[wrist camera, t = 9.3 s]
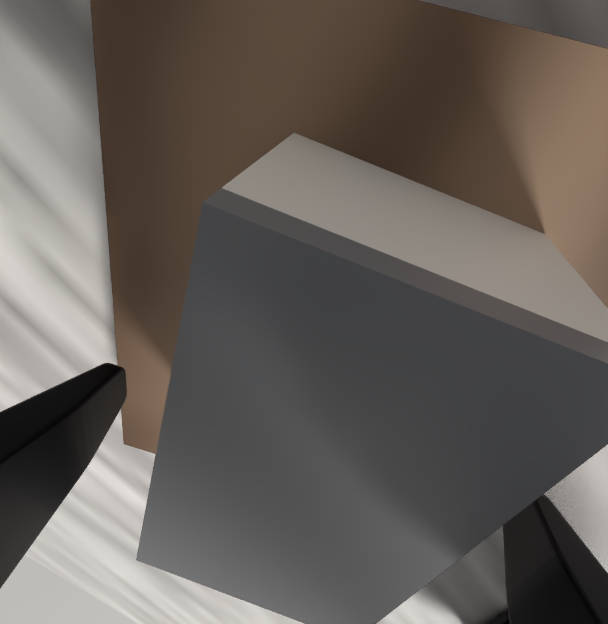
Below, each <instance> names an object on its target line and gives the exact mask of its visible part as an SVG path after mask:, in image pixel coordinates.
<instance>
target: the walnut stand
mask: <svg viewBox="0 0 608 624" xmlns="http://www.w3.org/2000/svg"><path fill="white" fill-rule="evenodd" d="M90 1H91V14H92V28H93V41H94V54H95V68H96V81H97V94H98V108H99V121H100V134H101V147H102V161H103V174H104V187H105V201H106V214H107V227H108V241H109V254H110V267H111V281H112V294H113V307H114V320H115V334H116V347H117V360H118V366H121V367H123V368H124V369H125V371H126V384H127V396H126V399H125V402H124V404H123V406H122V407H121V414H122V427H123V440H124V444H126V445H129V446H132V447H135V448H138V449H142V450H145V451H148V452H151V453H154V454H156V451H157V445H158V440H159V434H160V429H161V424H162V418H163V413H164V408H165V402H166V397H167V391H168V386H169V381H170V375H171V370H172V364H173V359H174V354H175V348H176V343H177V337H178V332H179V327H180V321H181V316H182V310H183V305H184V300H185V294H186V289H187V284H188V278H189V273H190V267H191V262H192V257H193V251H194V246H195V240H196V235H197V230H198V224H199V219H200V213H201V208H202V203H203V202H204V201H205V200H206V199H207V198H209V197H210V196H211V195H213V194H214V193H215V192H217V191H218V190H219V189H221V188H222V187H223V186H225V185H226V184H227V183H229V182H230V181H231V180H232V179H234V178H235V177H236V176H238V175H239V174H240V173H242V172H243V171H244V170H246V169H247V168H248V167H250V166H251V165H252V164H254V163H255V162H256V161H257V160H259V159H260V158H261V157H263V156H264V155H265V154H267V153H268V152H269V151H271V150H272V149H273V148H275V147H276V146H277V145H279V144H280V143H281V142H282V141H284V140H285V139H286V138H288V137H289V136H290V135H292V134H293V133H296V134H299V135H301V136H303V137H306V138H308V139H311V140H313V141H316V142H318V143H321V144H323V145H326V146H328V147H331V148H333V149H336V150H338V151H341V152H343V153H346V154H348V155H350V156H353V157H355V158H358V159H360V160H363V161H365V162H368V163H370V164H373V165H375V166H378V167H380V168H383V169H385V170H388V171H390V172H392V173H395V174H397V175H400V176H402V177H405V178H407V179H410V180H412V181H415V182H417V183H420V184H422V185H425V186H427V187H430V188H432V189H435V190H437V191H439V192H442V193H444V194H447V195H449V196H452V197H454V198H457V199H459V200H462V201H464V202H467V203H469V204H472V205H474V206H477V207H479V208H481V209H484V210H486V211H489V212H491V213H494V214H496V215H499V216H501V217H504V218H506V219H509V220H511V221H514V222H516V223H519V224H521V225H524V226H526V227H528V228H531V229H533V230H536V231H538V232H541V233H543V234H546V236H547V237H548V238H549V239H550V240H551V242H552V243H553V244H554V245H555V246H556V248H557V249H558V250H559V251H560V252H561V253H562V255H563V256H564V257H565V258H566V259H567V261H568V262H569V263H570V264H571V265H572V267H573V268H574V269H575V270H576V271H577V273H578V274H579V275H580V276H581V277H582V279H583V280H584V281H585V282H586V283H587V285H588V286H589V287H590V288H591V289H592V291H593V292H594V293H595V294H596V295H597V297H598V298H599V299H600V300H601V301H602V303H603V304H604V305H605V306H606V307H607V309H608V49H607V48H603V47H599V46H595V45H591V44H587V43H583V42H579V41H575V40H571V39H567V38H563V37H560V36H556V35H552V34H548V33H544V32H540V31H536V30H532V29H528V28H524V27H520V26H516V25H512V24H508V23H505V22H501V21H497V20H493V19H489V18H485V17H481V16H477V15H473V14H469V13H465V12H461V11H457V10H453V9H450V8H446V7H442V6H438V5H434V4H430V3H426V2H422V1H418V0H90Z"/></svg>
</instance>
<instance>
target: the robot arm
mask: <svg viewBox="0 0 608 624" xmlns="http://www.w3.org/2000/svg"><path fill="white" fill-rule="evenodd" d="M126 396H127V384H126V371H125V369H124V368H123V367H121V366H117V365H114V364H111V363H105V364H102V365H100V366H97V367H95V368H93V369H91V370H89V371H87V372H85V373H82V374H80V375H78V376H76V377H74V378H72V379H70V380H67V381H65V382H63V383H61V384H59V385H57V386H55V387H53V388H50V389H48V390H46V391H44V392H42V393H40V394H38V395H35V396H33V397H31V398H29V399H27V400H25V401H23V402H21V403H18V404H16V405H14V406H12V407H10V408H8V409H6V410H3V411H1V412H0V588H1V587H2V585H3V584H4V583H5V581H6V580H7V578H8V577H9V576H10V574H11V573H12V571H13V570H14V569H15V567H16V566H17V564H18V563H19V562H20V560H21V559H22V557H23V556H24V555H25V553H26V552H27V551H28V549H29V548H30V546H31V545H32V544H33V542H34V541H35V539H36V538H37V537H38V535H39V534H40V532H41V531H42V530H43V528H44V527H45V525H46V524H47V523H48V521H49V520H50V518H51V517H52V516H53V514H54V513H55V511H56V510H57V509H58V507H59V506H60V504H61V503H62V502H63V500H64V499H65V497H66V496H67V495H68V493H69V492H70V490H71V489H72V488H73V486H74V485H75V483H76V482H77V481H78V479H79V478H80V476H81V475H82V474H83V472H84V471H85V469H86V468H87V466H88V465H89V463H90V462H91V460H92V458H93V457H94V455H95V453H96V451H97V450H98V448H99V446H100V444H101V443H102V441H103V439H104V437H105V436H106V434H107V432H108V430H109V428H110V427H111V425H112V423H113V421H114V420H115V418H116V416H117V414H118V413H119V411H120V409H121V407H122V406H123V404H124V402H125V399H126ZM503 533H504V559H505V583H506V596H507V604H508V611H506V612H504V613H503V614H502V615H500V616H499V617H498V618H497V619H495V620H494V621H493V622H491V623H490V624H608V573H607V572H606V571H605V569H604V568H603V567H602V565H601V564H600V563H599V562H598V560H597V559H596V558H595V556H594V555H593V554H592V553H591V551H590V550H589V549H588V548H587V546H586V545H585V544H584V542H583V541H582V540H581V539H580V537H579V536H578V535H577V534H576V532H575V531H574V530H573V528H572V527H571V526H570V525H569V523H568V522H567V521H566V520H565V518H564V517H563V516H562V514H561V513H560V512H559V511H558V509H557V508H556V507H555V506H554V504H553V503H552V502H551V500H550V499H549V498H548V497H547V496H545V495H544V494H543V495H541V496H540V497H539V498H537V499H536V500H535V501H534V502H532V503H531V504H530V505H528V506H527V507H526V508H525V509H523V510H522V511H521V512H519V513H518V514H517V515H516V516H514V517H513V518H512V519H510V520H509V521H508V522H506V523H505V524H504V525H503Z"/></svg>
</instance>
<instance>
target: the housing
mask: <svg viewBox="0 0 608 624" xmlns="http://www.w3.org/2000/svg"><path fill="white" fill-rule="evenodd" d="M607 444H608V309H607V307H606V306H605V305H604V304H603V303H602V301H601V300H600V299H599V298H598V297H597V295H596V294H595V293H594V292H593V291H592V289H591V288H590V287H589V286H588V285H587V283H586V282H585V281H584V280H583V279H582V277H581V276H580V275H579V274H578V273H577V271H576V270H575V269H574V268H573V267H572V265H571V264H570V263H569V262H568V261H567V259H566V258H565V257H564V256H563V255H562V253H561V252H560V251H559V250H558V249H557V248H556V246H555V245H554V244H553V243H552V242H551V240H550V239H549V238H548V237H547V236H546V234H543V233H541V232H538V231H536V230H533V229H531V228H528V227H526V226H524V225H521V224H519V223H516V222H514V221H511V220H509V219H506V218H504V217H501V216H499V215H496V214H494V213H491V212H489V211H486V210H484V209H481V208H479V207H477V206H474V205H472V204H469V203H467V202H464V201H462V200H459V199H457V198H454V197H452V196H449V195H447V194H444V193H442V192H439V191H437V190H435V189H432V188H430V187H427V186H425V185H422V184H420V183H417V182H415V181H412V180H410V179H407V178H405V177H402V176H400V175H397V174H395V173H392V172H390V171H388V170H385V169H383V168H380V167H378V166H375V165H373V164H370V163H368V162H365V161H363V160H360V159H358V158H355V157H353V156H350V155H348V154H346V153H343V152H341V151H338V150H336V149H333V148H331V147H328V146H326V145H323V144H321V143H318V142H316V141H313V140H311V139H308V138H306V137H303V136H301V135H299V134H296V133H293V134H292V135H290V136H289V137H288V138H286V139H285V140H284V141H282V142H281V143H280V144H279V145H277V146H276V147H275V148H273V149H272V150H271V151H269V152H268V153H267V154H265V155H264V156H263V157H261V158H260V159H259V160H257V161H256V162H255V163H254V164H252V165H251V166H250V167H248V168H247V169H246V170H244V171H243V172H242V173H240V174H239V175H238V176H236V177H235V178H234V179H232V180H231V181H230V182H229V183H227V184H226V185H225V186H223V187H222V188H221V189H219V190H218V191H217V192H215V193H214V194H213V195H211V196H210V197H209V198H207V199H206V200H205V201H204V202H203V203H202V208H201V213H200V219H199V224H198V230H197V235H196V240H195V246H194V251H193V257H192V262H191V267H190V273H189V278H188V284H187V289H186V294H185V300H184V305H183V310H182V316H181V321H180V327H179V332H178V337H177V343H176V348H175V354H174V359H173V364H172V370H171V375H170V381H169V386H168V391H167V397H166V402H165V408H164V413H163V418H162V424H161V429H160V434H159V440H158V445H157V451H156V456H155V461H154V467H153V472H152V478H151V483H150V488H149V494H148V499H147V505H146V510H145V515H144V521H143V526H142V531H141V537H140V542H139V548H138V553H137V558H136V560H138V561H140V562H143V563H146V564H148V565H151V566H153V567H156V568H159V569H161V570H164V571H167V572H169V573H172V574H175V575H177V576H180V577H183V578H185V579H188V580H191V581H193V582H196V583H199V584H201V585H204V586H207V587H209V588H212V589H215V590H217V591H220V592H223V593H225V594H228V595H231V596H233V597H236V598H239V599H241V600H244V601H247V602H249V603H252V604H255V605H257V606H260V607H263V608H265V609H268V610H271V611H273V612H276V613H279V614H281V615H284V616H287V617H289V618H292V619H294V620H297V621H300V622H302V623H305V624H376V623H377V622H379V621H380V620H381V619H382V618H384V617H385V616H386V615H388V614H389V613H390V612H392V611H393V610H394V609H395V608H397V607H398V606H399V605H401V604H402V603H403V602H404V601H406V600H407V599H408V598H410V597H411V596H412V595H413V594H415V593H416V592H417V591H419V590H420V589H421V588H423V587H424V586H425V585H426V584H428V583H429V582H430V581H432V580H433V579H434V578H435V577H437V576H438V575H439V574H441V573H442V572H443V571H444V570H446V569H447V568H448V567H450V566H451V565H452V564H454V563H455V562H456V561H457V560H459V559H460V558H461V557H463V556H464V555H465V554H466V553H468V552H469V551H470V550H472V549H473V548H474V547H475V546H477V545H478V544H479V543H481V542H482V541H483V540H485V539H486V538H487V537H488V536H490V535H491V534H492V533H494V532H495V531H496V530H497V529H499V528H500V527H501V526H503V525H504V524H505V523H506V522H508V521H509V520H510V519H512V518H513V517H514V516H516V515H517V514H518V513H519V512H521V511H522V510H523V509H525V508H526V507H527V506H528V505H530V504H531V503H532V502H534V501H535V500H536V499H537V498H539V497H540V496H541V495H543V494H544V493H545V492H547V491H548V490H549V489H550V488H552V487H553V486H554V485H556V484H557V483H558V482H559V481H561V480H562V479H563V478H565V477H566V476H567V475H568V474H570V473H571V472H572V471H574V470H575V469H576V468H578V467H579V466H580V465H581V464H583V463H584V462H585V461H587V460H588V459H589V458H590V457H592V456H593V455H594V454H596V453H597V452H598V451H599V450H601V449H602V448H603V447H605V446H606V445H607Z"/></svg>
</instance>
